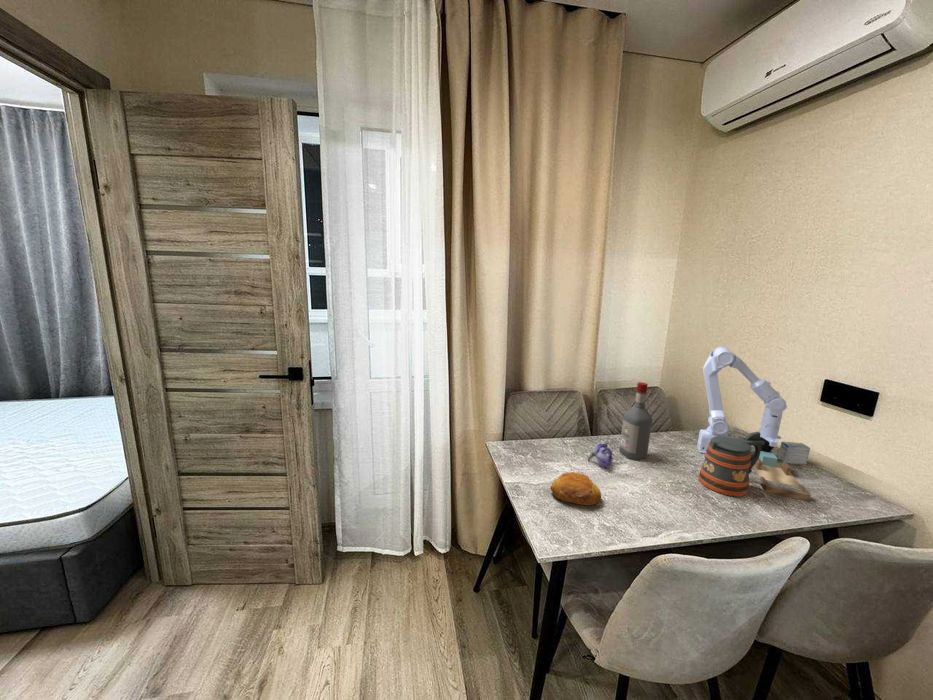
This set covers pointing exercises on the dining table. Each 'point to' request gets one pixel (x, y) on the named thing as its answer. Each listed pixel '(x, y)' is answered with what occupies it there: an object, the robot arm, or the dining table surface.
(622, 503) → the dining table surface
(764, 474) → the deck
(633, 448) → the liquor
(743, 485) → the beer stein
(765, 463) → the block
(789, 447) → the medicine box
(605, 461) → the flower
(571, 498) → the bread loaf
